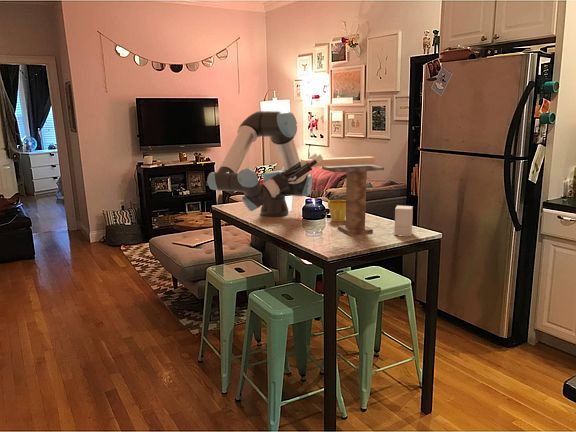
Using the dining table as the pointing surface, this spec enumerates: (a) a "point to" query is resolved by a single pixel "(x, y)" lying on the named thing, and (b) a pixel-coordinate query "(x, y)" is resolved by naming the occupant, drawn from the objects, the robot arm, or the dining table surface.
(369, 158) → the tan rectangular bar
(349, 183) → the shelf stand
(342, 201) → the plant pot
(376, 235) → the dining table surface
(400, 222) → the supplement box
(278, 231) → the dining table surface
